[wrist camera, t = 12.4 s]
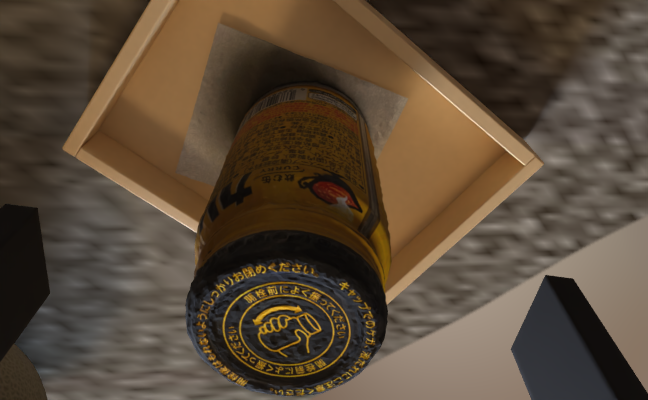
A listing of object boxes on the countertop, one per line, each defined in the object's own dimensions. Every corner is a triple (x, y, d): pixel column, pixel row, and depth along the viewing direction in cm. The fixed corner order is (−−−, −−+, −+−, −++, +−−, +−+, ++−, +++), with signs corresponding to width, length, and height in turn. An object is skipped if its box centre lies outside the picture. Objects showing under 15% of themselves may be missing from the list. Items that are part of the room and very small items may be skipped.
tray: (85, 127, 24) (60, 149, 21) (233, -116, 19) (221, -120, 17) (354, 300, 28) (356, 332, 26) (525, 141, 24) (545, 164, 22)
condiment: (342, 228, 26) (353, 447, 15) (176, 171, 24) (59, 369, 14) (408, 96, 22) (480, 259, 12) (219, 20, 21) (109, 129, 10)
